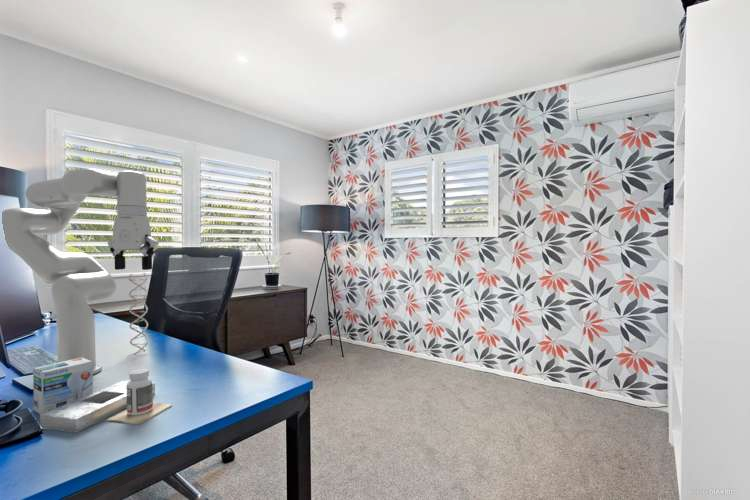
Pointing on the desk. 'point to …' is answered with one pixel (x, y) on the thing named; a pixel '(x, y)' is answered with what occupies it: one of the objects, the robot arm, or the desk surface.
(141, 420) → the wooden pad
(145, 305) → the dna model
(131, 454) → the desk surface
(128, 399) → the pill bottle
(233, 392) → the desk surface
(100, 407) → the white slotted slab
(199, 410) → the desk surface
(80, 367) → the light bulb box
